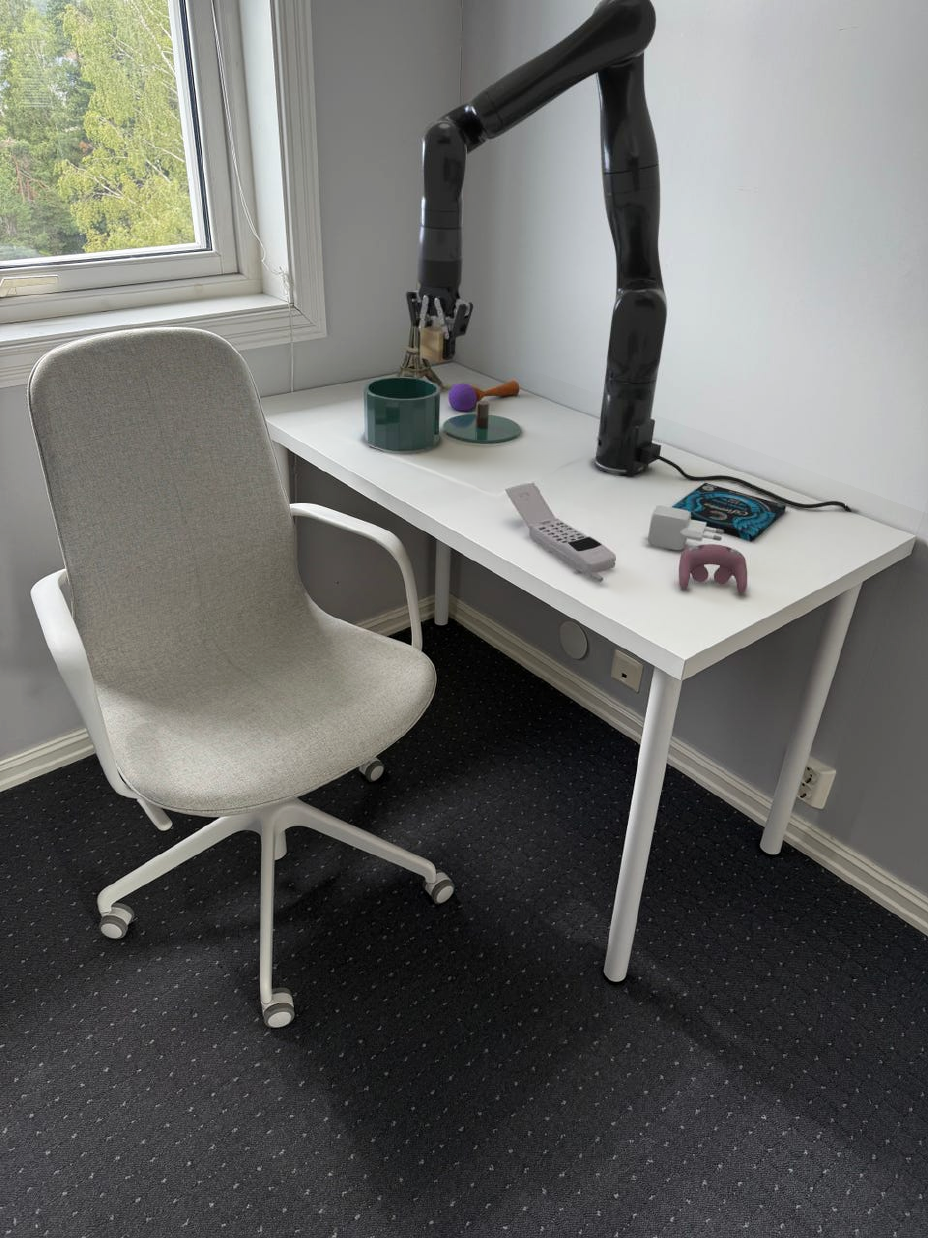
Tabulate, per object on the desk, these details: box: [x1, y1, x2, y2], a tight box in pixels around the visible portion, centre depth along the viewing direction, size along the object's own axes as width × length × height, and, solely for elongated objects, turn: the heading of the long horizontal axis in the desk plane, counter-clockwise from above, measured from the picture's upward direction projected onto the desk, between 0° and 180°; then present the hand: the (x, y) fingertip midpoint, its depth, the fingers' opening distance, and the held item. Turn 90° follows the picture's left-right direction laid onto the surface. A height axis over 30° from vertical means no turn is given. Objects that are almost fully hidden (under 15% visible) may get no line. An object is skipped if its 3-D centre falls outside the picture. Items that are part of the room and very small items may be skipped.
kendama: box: [448, 380, 521, 412], centre depth 200 cm, size 6×6×20 cm
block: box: [420, 324, 456, 363], centre depth 161 cm, size 4×4×5 cm
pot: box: [363, 376, 441, 453], centre depth 178 cm, size 15×15×10 cm
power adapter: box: [647, 505, 725, 551], centre depth 143 cm, size 11×5×6 cm, turn 69°
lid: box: [442, 400, 521, 444], centre depth 185 cm, size 16×16×6 cm
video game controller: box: [678, 543, 748, 595], centre depth 134 cm, size 10×5×7 cm, turn 84°
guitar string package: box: [671, 482, 787, 543], centre depth 156 cm, size 15×1×15 cm
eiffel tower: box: [394, 276, 448, 392], centre depth 202 cm, size 11×11×25 cm
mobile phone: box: [504, 482, 617, 583], centre depth 142 cm, size 6×6×25 cm
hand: (437, 355), depth 163 cm, fingers closed on block, 4 cm apart
